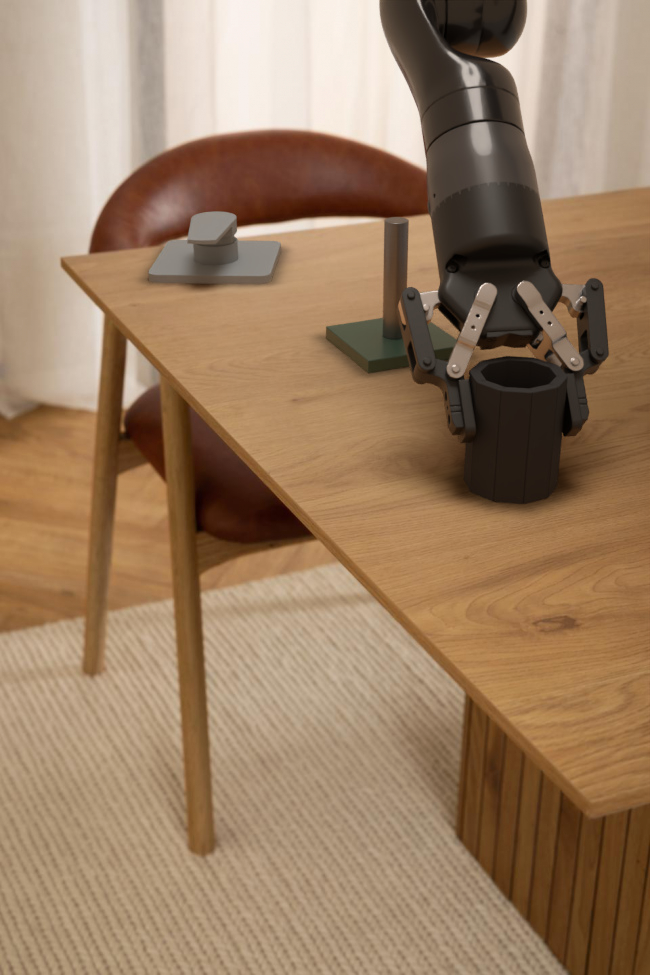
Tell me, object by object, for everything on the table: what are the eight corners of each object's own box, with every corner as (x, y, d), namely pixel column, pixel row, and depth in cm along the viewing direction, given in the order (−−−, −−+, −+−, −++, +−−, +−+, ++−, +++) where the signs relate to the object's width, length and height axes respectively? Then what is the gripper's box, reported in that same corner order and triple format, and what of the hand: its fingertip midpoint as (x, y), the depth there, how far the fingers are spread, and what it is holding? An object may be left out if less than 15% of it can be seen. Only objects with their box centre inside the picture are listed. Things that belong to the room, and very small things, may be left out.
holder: (416, 324, 107) (420, 201, 102) (464, 358, 100) (471, 227, 95) (325, 339, 104) (324, 213, 99) (368, 374, 97) (369, 240, 92)
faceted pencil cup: (539, 460, 83) (548, 353, 79) (567, 502, 77) (579, 389, 74) (455, 466, 82) (461, 358, 78) (478, 508, 77) (485, 395, 73)
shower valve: (137, 237, 114) (165, 198, 127) (141, 292, 116) (169, 248, 129) (265, 238, 113) (280, 199, 126) (267, 293, 115) (282, 249, 129)
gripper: (389, 182, 77) (421, 422, 72) (603, 173, 78) (648, 408, 74) (374, 239, 84) (402, 462, 79) (570, 230, 86) (610, 448, 81)
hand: (521, 435), depth 76 cm, fingers open, 6 cm apart
